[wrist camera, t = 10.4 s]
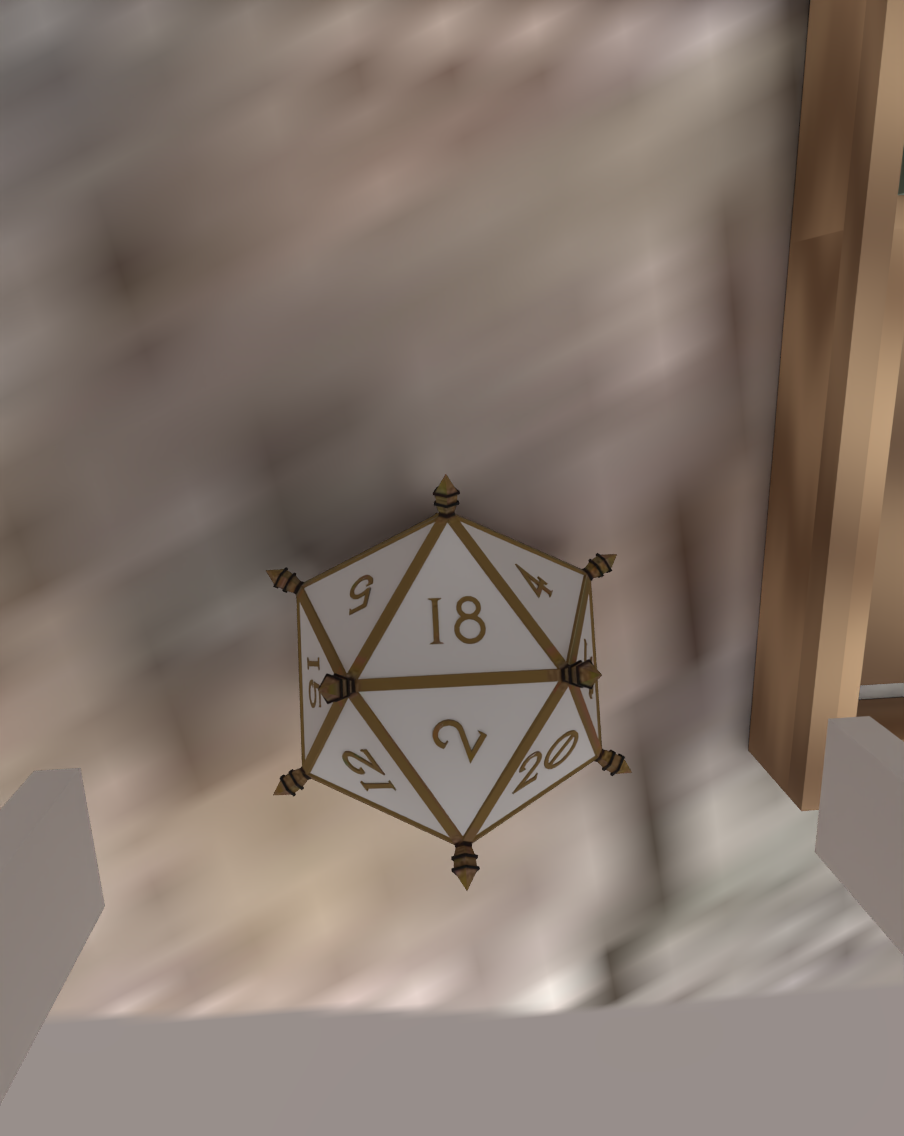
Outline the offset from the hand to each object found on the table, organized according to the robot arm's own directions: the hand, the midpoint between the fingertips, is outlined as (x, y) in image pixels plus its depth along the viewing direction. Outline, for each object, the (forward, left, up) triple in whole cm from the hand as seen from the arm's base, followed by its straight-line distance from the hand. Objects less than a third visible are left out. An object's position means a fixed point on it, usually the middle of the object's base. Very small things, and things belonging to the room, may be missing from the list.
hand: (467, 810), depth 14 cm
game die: (0, 0, -9) cm, 9 cm away
